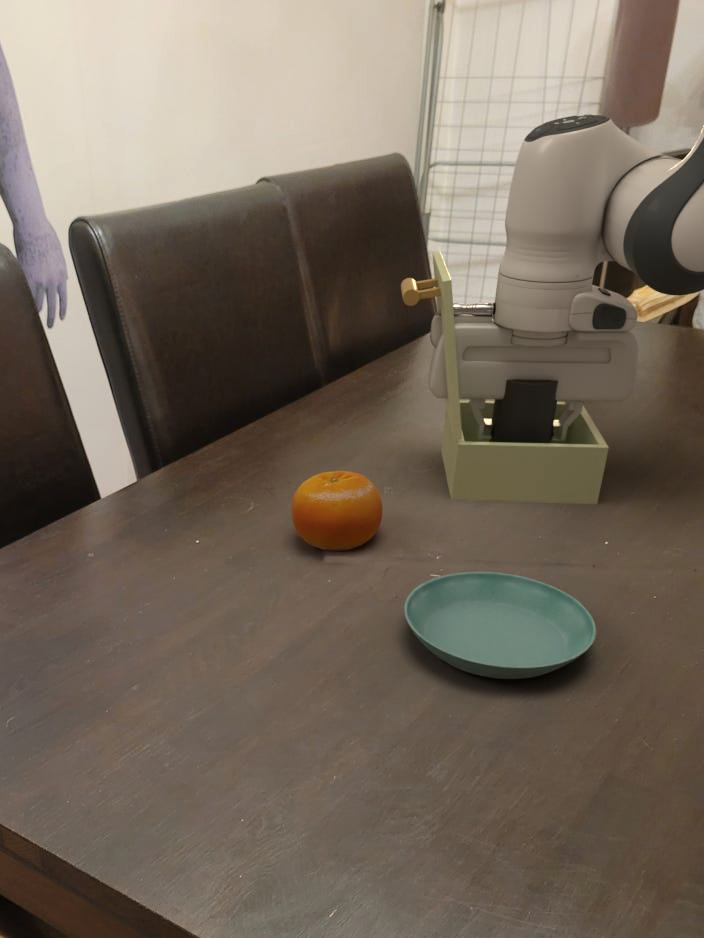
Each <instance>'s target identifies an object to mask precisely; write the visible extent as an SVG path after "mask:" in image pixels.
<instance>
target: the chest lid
mask: <svg viewBox="0 0 704 938" xmlns="http://www.w3.org/2000/svg"><path fill="white" fill-rule="evenodd" d="M432 261H433V262H432V265H433V276H434V277H433V278H429V279H424V280H417V281H416V280H415V279H414V278H413V277H406V278H405V279H403V280H402V281H401V284H400V291H401V292H400V293H401V296H402V301H403V303H404V304H405V305H406V306H408V307H414V306H415V305H417V304H418V303H419V301H420V300H425V299H431V298H435V302H436V304H435V305H436V313H437V312H438V311H440V310H441V321H442V333H443V338H444V351H445V364H446V377H447V391H448V399H446V398H443V400H444V404H445V409H446V408H447V412H448V417H449V421H450V425H451V429H452V433H453V437H454V440H457V439H462V429H461V414H460V400H461V399H459V384H458V370H457V355H456V340H455V325H454V311H453V304H454V298H453V283H452V278H451V275H450V273H449V270H448V268H447V265H446V263H445V260H444V257H443V254H442V252H441V251H440V250H437V251H433V252H432Z"/></svg>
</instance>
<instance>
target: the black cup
mask: <svg viewBox="0 0 704 938" xmlns="http://www.w3.org/2000/svg"><path fill="white" fill-rule="evenodd" d="M557 385H558V381H553V380H521V379H513V380H506V388H505V394H504V397H503V399H494V400H493V401H494V409H493V416H492V423H493V431H492V432H491V433H492V438H491V439H489V442H505V443H548V444H550V440H551V434H552V429H553V423H554V417H555V411H556V405H557V402H558V401H556V399H555V398H556V390H557Z"/></svg>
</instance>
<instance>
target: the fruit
mask: <svg viewBox="0 0 704 938" xmlns="http://www.w3.org/2000/svg"><path fill="white" fill-rule="evenodd" d="M290 509H291V519H292V520H291V521H292V523H293V526H294V529H295V530H296V532H297V534H298V535H299V536H300V538H302V540H303V541H304V542H306V543H307V544H309V545H310V546H312V547H314V548H316V549H320V550H323V551H325V550H326V551H348V550H349V551H350V550H353V549H355V548H358V547H361V546H363V545H364V544H366V543H367V542H369V541H370V539H372V538H373V537H374V536H375V535H376V533H377V532H378V530H379V528H380V526H381V522H382V518H383V502H382V498H381V495H380V493H379V490H378V489H377V487H376V486H375V484H373V482H372V481H371V480H370V479H369V478H368V477H366V476H365V475H362V474H361V473H359V472H354V471H347V470H336V471H326V472H320V473H318V474H315V475H313V476H311V477H309V478H307V480H305V481H303V482H302V483H301V485H300V486H299V487H298V488H297V489H296V491H295V493H294V494H293V498H292V502H291V507H290Z"/></svg>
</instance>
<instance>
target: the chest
mask: <svg viewBox="0 0 704 938" xmlns="http://www.w3.org/2000/svg"><path fill="white" fill-rule="evenodd" d="M494 401H495V400H486V401H485V408H484V409H480V408H479V409H480V411H481V413H482V416H483V418H484V419H492V416H493V409H494ZM566 409H567V406H566V404H565V401H557V405H556V411H555V417H554V420H559V419H560V417H561V416H562V415H563V413H564V412H565V411H566ZM460 414H461V429H462V439H457V440H454V437H453V433H452V429H451V425H450V421H449V417H448V412H447V408H446V407H445V412H444V421H443V423H444V424H443V432H442V441H441V449H440V450H441V451H440V453H441V457H442V462H443V467H444V472H445V475H446V477H445V478H446V482H447V487H448V492H449V496H450V500H451V501H476V502H477V501H478V502H479V501H481V502H510V503H512V502H513V503H544V504H545V503H546V504H547V503H548V504H577V505H579V504H581V505H598V502H599V497H600V492H601V489H602V488H601V487H602V483H603V478H604V472H605V469H606V463H607V459H608V454H609V450H610V447H609V445H608V444H607V442H606V440H605V439H604V437H603V435H602V434H601V432H600V430H599V429H598V427H597V426H596V424H595V422H594V420H593V419H592V417H591V416H590V414H589V412H588V411H587V409H586V407H585V406H584V405H583V408H582V412H581V413H580V414H579V415H578V416H577V417H576V419H575V420H574V421H573V422H572V423H571V425H570V426H568V428H567V434H566V439H565V441H550V444H548V443H505V442H489V439H482V440H481V439H477V437H476V428H477V421H476V418H475V416H474V414H473V412H472V410H471V407H470V404H469V399H460Z"/></svg>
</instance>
